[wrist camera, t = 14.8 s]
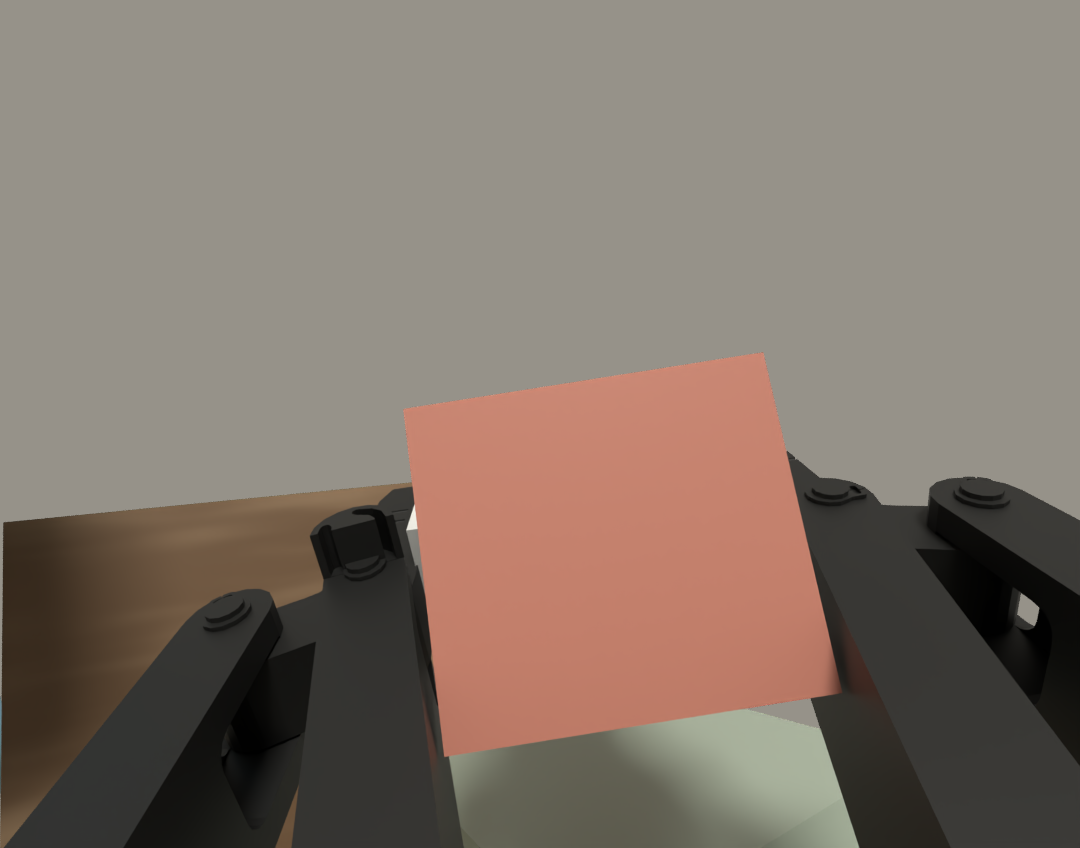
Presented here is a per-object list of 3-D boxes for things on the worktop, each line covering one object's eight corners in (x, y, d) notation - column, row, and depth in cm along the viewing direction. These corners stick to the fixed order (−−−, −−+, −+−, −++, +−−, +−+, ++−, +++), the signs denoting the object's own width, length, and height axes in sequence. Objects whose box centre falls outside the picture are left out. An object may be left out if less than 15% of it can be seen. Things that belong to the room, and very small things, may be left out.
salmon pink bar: (844, 692, 6) (765, 351, 7) (443, 756, 6) (402, 408, 7) (619, 560, 28) (604, 479, 29) (527, 575, 28) (515, 494, 29)
